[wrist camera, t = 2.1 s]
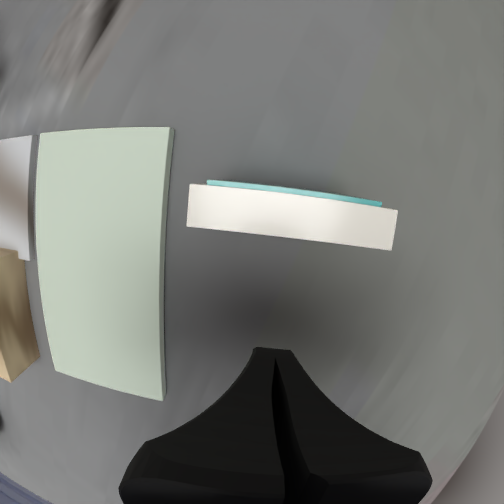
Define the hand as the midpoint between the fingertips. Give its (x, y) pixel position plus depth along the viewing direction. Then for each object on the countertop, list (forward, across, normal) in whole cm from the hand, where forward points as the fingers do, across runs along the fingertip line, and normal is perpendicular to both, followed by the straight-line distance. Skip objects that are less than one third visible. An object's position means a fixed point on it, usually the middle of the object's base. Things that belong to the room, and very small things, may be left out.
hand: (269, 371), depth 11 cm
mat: (+5, +10, -1) cm, 11 cm away
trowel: (+5, +17, +2) cm, 18 cm away
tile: (+5, 0, -6) cm, 8 cm away
